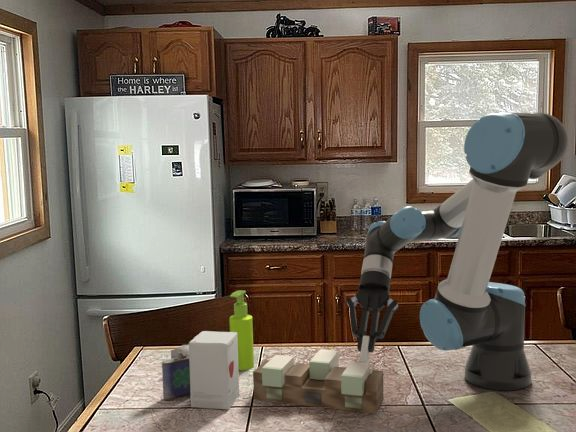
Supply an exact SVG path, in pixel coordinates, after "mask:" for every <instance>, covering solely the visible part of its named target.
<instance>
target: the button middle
mask: <svg viewBox="0 0 576 432" xmlns="http://www.w3.org/2000/svg"><path fill="white" fill-rule="evenodd" d="M339 355H340V353H339V350H334V349H333V350H331V349H321V348H320V349H319V350H318V351H317V352H316V354H314V356H313V357H312V358H311V359H310V361H308V362H309V363H308V364H309V370H310V379H316V380H324V379H325V378H326V376H327V375H328V374H329V372H330V371H331V370H332V368H333V367H340V364H339V363H340V362H339Z"/></svg>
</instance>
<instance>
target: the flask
mask: <svg viewBox="0 0 576 432" xmlns="http://www.w3.org/2000/svg"><path fill="white" fill-rule="evenodd" d="M178 351H179V352H178V355H177V358H173V359H171V358H170V359H169V358H168V359H166V360H165V359H164V360H163V361H162V362H161V371H162V374H161V375H162V399H163V400H164V401H165V402H167V401H174V400H176V399H181V398H182V399H183V398H185V397H189V396H190V397H191V392H190V362H189V354H187V355H185V354H183V353H182V351H183V350H178ZM176 352H177V351H176Z"/></svg>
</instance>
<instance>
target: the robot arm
mask: <svg viewBox="0 0 576 432" xmlns="http://www.w3.org/2000/svg"><path fill="white" fill-rule="evenodd" d="M568 147H569V136H568V131H567V129H566V127H565V125H564V124H563V123H562V122H561V121H560V120H559V119H558V118H557V117H555V116H554V115H551V114H549V113H547V112H546V113H545V112H508V111H500V112H496V113H495V112H494V113H489V114H486V115H483V116H481V117H480V118H478V119H477V120H475V122H473V124H472V125H471V126H470V128H469V129H468V131H467V134H466V136H465V139H464V145H463V152H464V154H465V155H466V156H465V160H466V162H467V164H468V165H469V170H468V171H469V175H470V176H471V178H472V179H470V181H469V182H468V183H466V184H465V185H463V187H461V188H460V189H459V190H457V191H456V192H455V193H454V194H451V196H450V197H447V199H446V200H445V201H443V202H442V203H440V205H438V206H437V207H435V208H434V209H431V210H430V209H429V210H422V211H421V210H419V209H418V208H417V207H413V206H409V205H408V206H404V207H402V208H400V210H397V211H396V212H394V214H392V216H390V218H388V219H387V220H386V221H385V220H379V221H377V222H373V223H371V224H370V226H369V228H368V230H367V234H366V237H365V247H364V253H363V260H362V266H361V272H360V273H361V274H360V279H359V285H358V290H357V292H356V293H355V296H352V297H346V299H345V301H346V304H347V307H348V308H349V315H350V317H349V318H350V327H351V333H352V335H353V337H354V338H357V347H356V348H357V351H358V352H360V353H359V361H358V362H362V363H369V358H370V353H374V352H375V345H376V341H377V340H383V339H384V337H385V335H386V333H387V331H388V327H389V325H390V323H391V321H392V318H393V316H394V313H395V312H396V311H397V310H398V309H399V303H398V300H397V299H392V298H391V295H390V288H391V287H390V286H391V278H392V271H393V264H394V256H395V253H397V252H398V251H399V250H400V249H402V248H403V247H404V246H405V245H407V244H410V243H417V242H418V243H419V242H425V241H432V240H434V241H435V240H441V239H450V238H452V237H457V236H458V239H457V243H456V246H455V251H454V254H453V258H452V260H451V264H450V266H449V267H450V268H449V271H448V275H447V277H446V279H443V280H442V281H440V282H439V283H438V285H437V289H436V292H435V294H434V295H435V296H434V298H430V299H428V300H427V301H425V302H424V303H423V304H422V305H421V306H420V311H419V321H420V327H421V330H422V331H423V334H424V336H425V338H426V339H427V340H428V342H430V344H431V345H432V346H434V347H435V348H436V349H438V350H441V351H444V352H446V351H453V350H454V351H456V350H460V349H463V348H466V347H470V346H472V347H471V349H470V352H469V355H468V358H467V361H466V363H465V366H464V378H465V380H466V381H467V382H468V383H471V384H472V385H475V386H477V387H479V388H483V389H488V390H495V391H517V390H522V389H526V388H527V387H530V385H531V384H532V371H531V367H530V365H529V361H528V357H527V355H526V353H525V323H526V322H525V318H526V317H525V316H526V315H525V314H526V313H525V312H526V306H527V305H526V299H525V292H524V290H523V289H522V288H520V287H518V286H516V285H512V284H507V283H501V282H500V283H499V282H492V281H490V279H491V276H492V273H493V270H494V266H495V264H496V260H497V255H498V253H499V249H500V246H501V243H502V240H503V236H504V234H505V231H506V227H507V223H508V220H509V218H510V215H511V214H510V213H511V210H512V207H513V204H514V201H515V198H516V194H517V192H518V191H520V190H522V189H524V188H526V187H527V185H528V181H529V180H537V179H539V178H540V177H541V176H543V175H544V174H546V173H548V172H549V171H550V170H551V169H553V168H554V167H556V165H558V164H559V163H560V162H561V161H562V159H564V157H565V155H566V153H567V151H568ZM357 303H358V304H359V305H360V306H359V307H361V308H362V309H361V314H360V315H361V317H360V321H359V329H358V320H357V311H356V306H357ZM385 306H387V308H386V310H385V313H384V315H383V318H382V319H381V322H380V324H379V319H380V314H381V313H380V312H381V311H382V310H383V309H384V308H385ZM370 312H371V320H370V321H371V322H370V328H369V332H368V333H369V334H368V335H367V328H368V321H369V315H370Z"/></svg>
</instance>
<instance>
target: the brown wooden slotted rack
mask: <svg viewBox="0 0 576 432" xmlns="http://www.w3.org/2000/svg"><path fill="white" fill-rule="evenodd" d="M269 361H270V360H267V359H265V360H264V361H263V362H262V363H260V365H259V366H258V367H256V368H255V369H254V370H253V371H252V380H253V381H252V383H253V400H255V401H261V402H272V403H281V404H289V405H296V406H297V405H298V406H306V407H314V408H315V407H316V408H324V409H325V408H326V409H333V410H343V411H350V412H360V413H369V414H374V415H375V414H377V413H378V411H379V410H380V408H381V406H382V403H383V402H384V401H383V400H384V370H377V369H376V370H375V369H372V371H371V374H370V376H369V378H368V379H367V381H366V383H365V392H364V394H363V395H362V396H358V395H349V394H341V375H342V374H343V372H344V371H345V369H346V368H347V367H344V366H343V367H342V366H339V367H333V368H332V370H331V371H330V372H329V374H328V375H327V376H326V378H325V379H324V380H316V379H310V370H309V363H299V362H297V363H294V366H293V367H292V368H291V369H290V370H289V372H288V373H287V374H286V375H285V384H284V385H283V386H282V387H273V386H264V385H262V367H263V366H264V365H265V364H267V363H268V362H269Z"/></svg>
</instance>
